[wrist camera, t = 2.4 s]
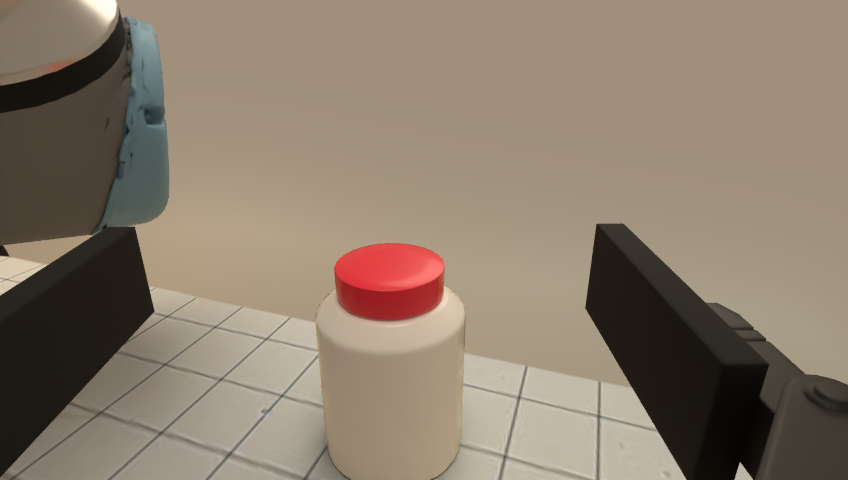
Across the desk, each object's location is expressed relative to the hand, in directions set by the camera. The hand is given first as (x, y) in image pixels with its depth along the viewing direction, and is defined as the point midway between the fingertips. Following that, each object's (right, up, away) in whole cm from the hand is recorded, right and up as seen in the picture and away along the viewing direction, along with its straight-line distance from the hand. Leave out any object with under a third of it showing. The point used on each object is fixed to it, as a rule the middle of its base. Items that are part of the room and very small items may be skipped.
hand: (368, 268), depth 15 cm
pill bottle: (0, -11, +15) cm, 19 cm away
